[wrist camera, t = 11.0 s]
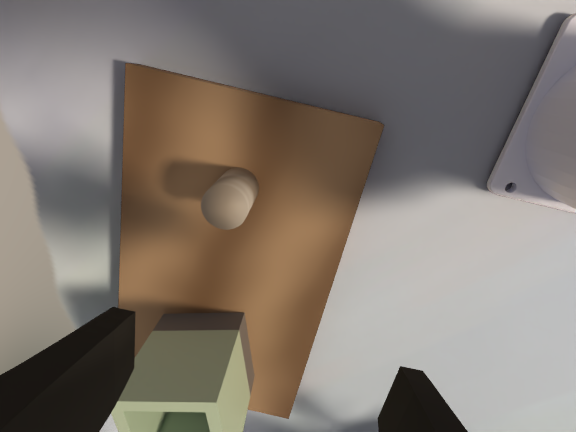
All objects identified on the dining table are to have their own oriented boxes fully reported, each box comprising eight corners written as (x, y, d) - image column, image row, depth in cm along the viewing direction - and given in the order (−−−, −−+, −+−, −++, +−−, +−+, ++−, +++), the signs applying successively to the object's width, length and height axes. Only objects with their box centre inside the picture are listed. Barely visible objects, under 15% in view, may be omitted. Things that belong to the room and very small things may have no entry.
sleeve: (244, 312, 20) (216, 402, 14) (254, 375, 22) (233, 477, 16) (163, 313, 20) (106, 401, 15) (180, 375, 22) (134, 473, 17)
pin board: (379, 122, 16) (398, 135, 13) (289, 403, 24) (284, 465, 20) (138, 63, 16) (82, 59, 12) (125, 365, 24) (88, 420, 20)
